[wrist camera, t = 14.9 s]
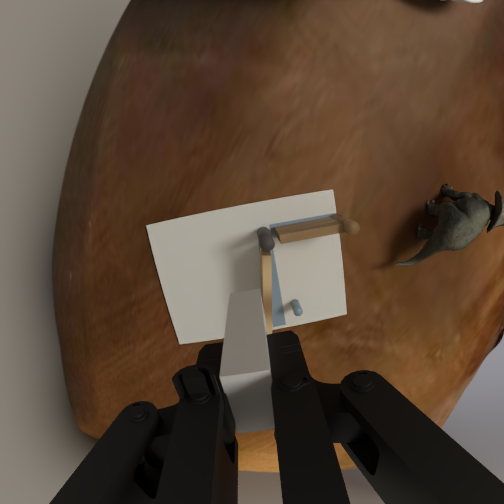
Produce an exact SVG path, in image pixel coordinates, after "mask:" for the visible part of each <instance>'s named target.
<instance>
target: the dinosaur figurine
mask: <svg viewBox="0 0 504 504" xmlns="http://www.w3.org/2000/svg"><path fill="white" fill-rule="evenodd" d="M441 189H442V192H443V194H444V195H445V196H446V197H449V198H451V199H452V200H453V201H455V202H454V203H450V202H443V203H441V204H439V205H435V201H434V200H432V202H431V203H430V202H429V201H427V212H428V213H429V214H431V215H432V216H434V217H436V216H437V217H439V225H437V226H436V228H435V229H434V230H428V229H425V228H423V224H422V223H421V224H419V226H418V232H417V238H418V239H421V238H423V239H429V240H428V241H427V242H426V243H425V245H424V246H423V248H422V249H421V250H420V252H419V253H418V254H416V255H415V256H414V257H413V258H411V259H410V260H408V261H405V262H398V263H397V264H396V265H399V266H412V265H415V264H417V263H419V262H421V261H423V260H424V259H426V258H428V257H430V256H431V255H433V254H435V253H437V252H440V251H443V250H452V251H455V250H460V249H463V248H465V247H466V246H467V245H468V244H469V243H471V242H472V241H473V239H474V238H475V237H476V236H478V235H479V233H480V232H481V231H482V230H483V228H484V226H486V225H487V224H488V221H489V220H491V221H490V223H489V225H488V228H487V233H488V232H490V231H491V230H492V229H493V228H494V227H498V226H504V205H503V198H502V194H501V192H499V190H497V191H496V192H495V205H492V204H489V202H488V201H486V200H484V199H483V198H482V197H481V196H480V195H479V194H477V193H469V192H457V191H454V190H452V189H453V187H450V185H449V183H447V185H446V186H445V185H443V188H441Z"/></svg>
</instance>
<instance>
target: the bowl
mask: <svg viewBox="0 0 504 504" xmlns="http://www.w3.org/2000/svg"><path fill="white" fill-rule="evenodd" d="M442 1H445V0H442ZM452 1H455V2H461V3H478V2H481V1H482V0H452Z"/></svg>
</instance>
